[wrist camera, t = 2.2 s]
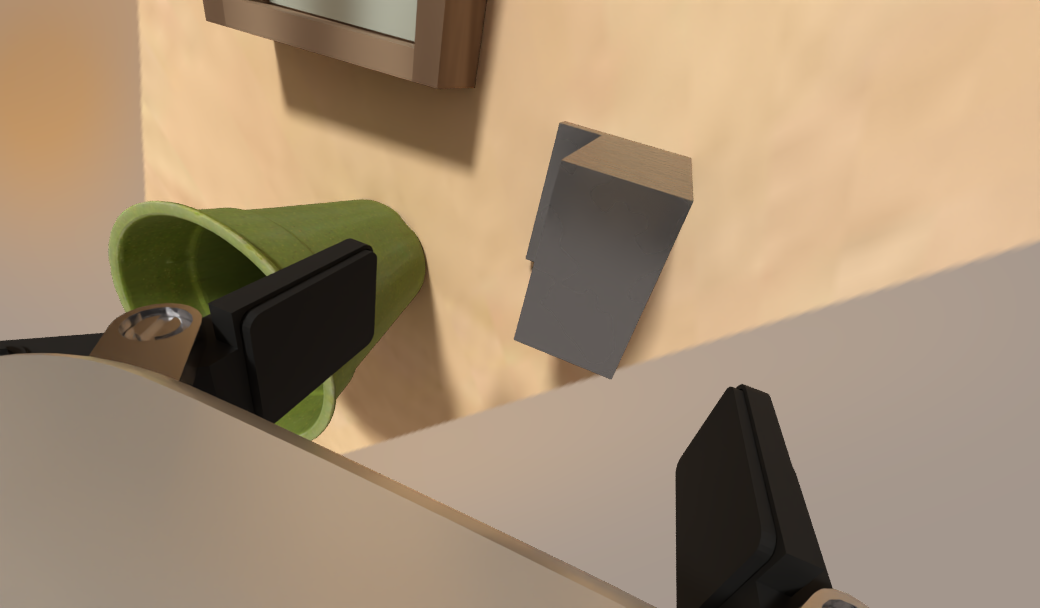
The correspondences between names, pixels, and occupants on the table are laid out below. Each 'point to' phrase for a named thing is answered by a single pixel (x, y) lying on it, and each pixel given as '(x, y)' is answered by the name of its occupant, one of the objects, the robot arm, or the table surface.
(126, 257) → the plant pot
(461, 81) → the square wooden tray
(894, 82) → the table surface
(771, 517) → the robot arm
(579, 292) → the grey block
